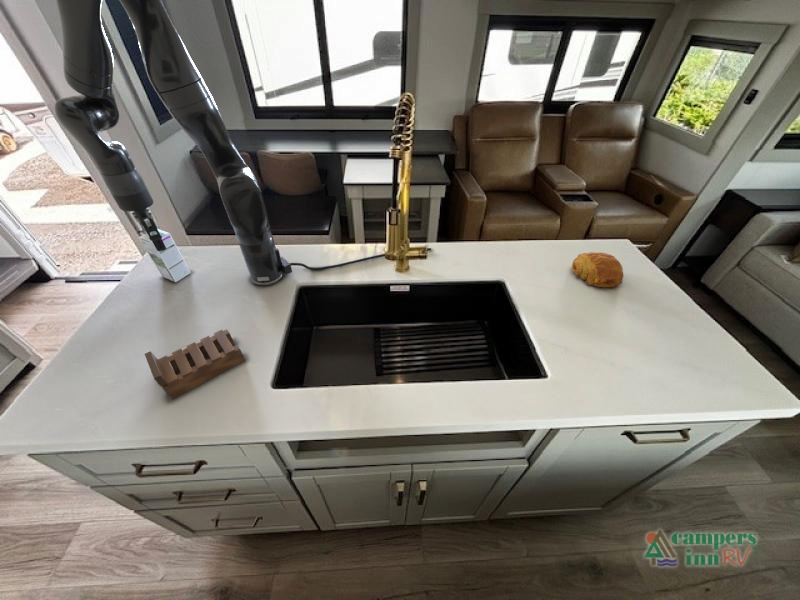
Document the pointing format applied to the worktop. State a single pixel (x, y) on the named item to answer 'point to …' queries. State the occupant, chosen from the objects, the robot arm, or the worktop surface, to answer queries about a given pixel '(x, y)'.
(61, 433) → the worktop surface
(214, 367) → the rack
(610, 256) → the croissant
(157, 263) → the syrup box
